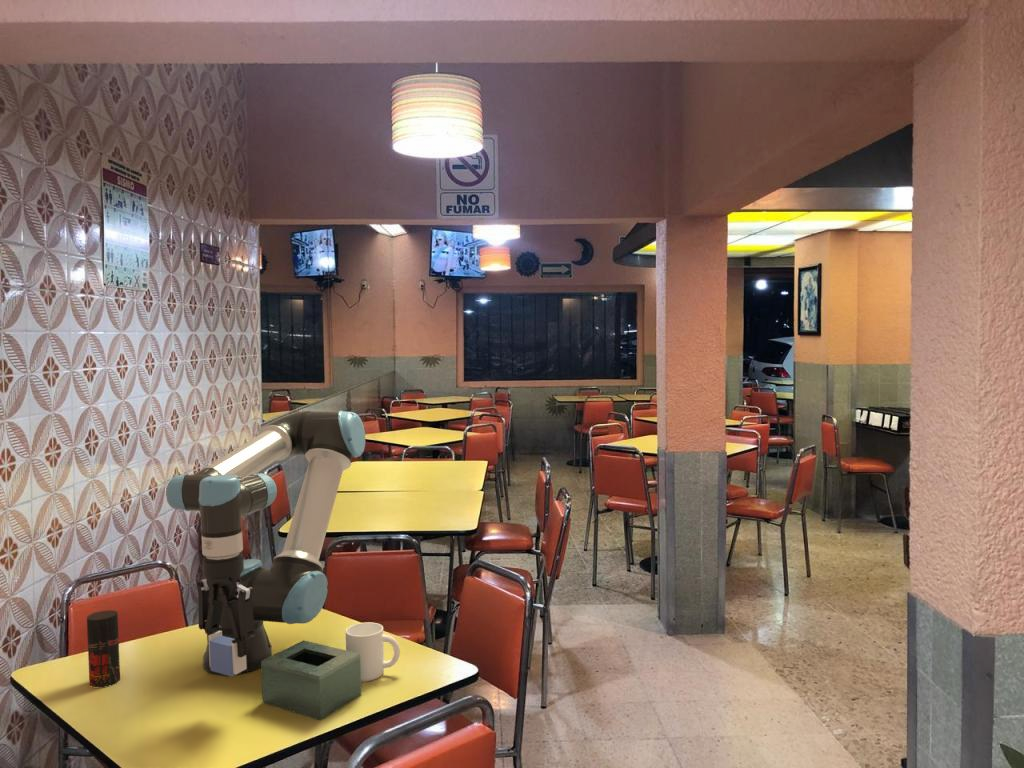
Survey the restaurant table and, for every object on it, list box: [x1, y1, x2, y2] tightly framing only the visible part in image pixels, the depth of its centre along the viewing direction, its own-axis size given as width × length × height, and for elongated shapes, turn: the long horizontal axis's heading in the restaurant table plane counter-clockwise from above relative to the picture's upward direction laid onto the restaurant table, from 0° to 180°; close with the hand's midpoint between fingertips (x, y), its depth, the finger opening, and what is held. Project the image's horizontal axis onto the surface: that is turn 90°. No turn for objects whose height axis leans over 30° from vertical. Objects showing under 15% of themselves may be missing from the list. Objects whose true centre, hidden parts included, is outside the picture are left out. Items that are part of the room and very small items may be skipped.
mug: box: [345, 621, 401, 683], centre depth 164 cm, size 12×8×10 cm
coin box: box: [260, 640, 362, 721], centre depth 153 cm, size 16×12×9 cm
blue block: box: [209, 636, 236, 677], centre depth 146 cm, size 6×3×6 cm, turn 61°
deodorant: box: [86, 610, 121, 688], centre depth 162 cm, size 6×6×15 cm
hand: (228, 667), depth 147 cm, fingers closed on blue block, 6 cm apart
